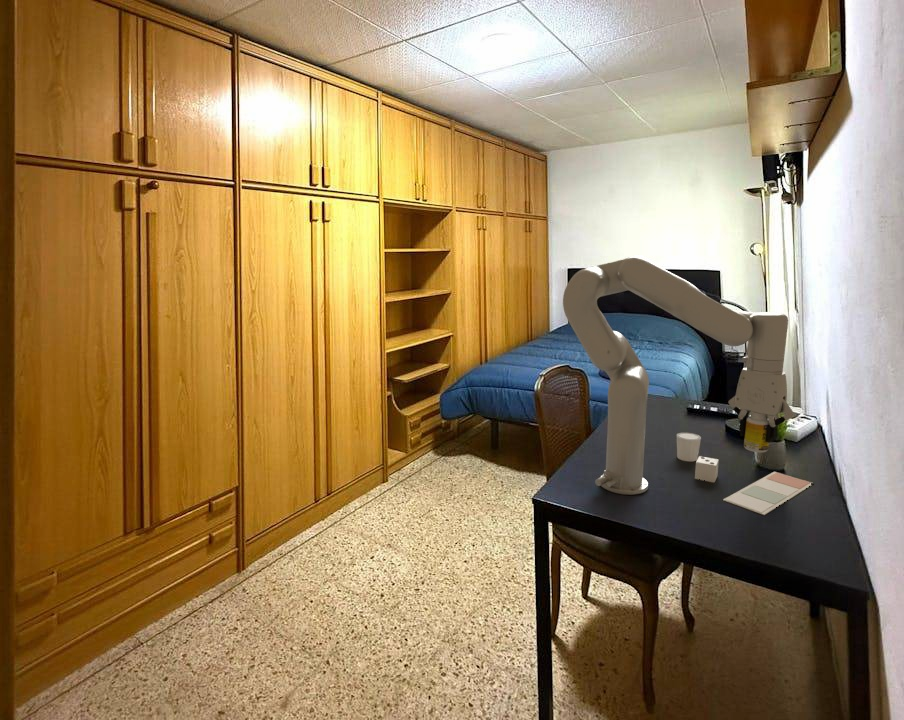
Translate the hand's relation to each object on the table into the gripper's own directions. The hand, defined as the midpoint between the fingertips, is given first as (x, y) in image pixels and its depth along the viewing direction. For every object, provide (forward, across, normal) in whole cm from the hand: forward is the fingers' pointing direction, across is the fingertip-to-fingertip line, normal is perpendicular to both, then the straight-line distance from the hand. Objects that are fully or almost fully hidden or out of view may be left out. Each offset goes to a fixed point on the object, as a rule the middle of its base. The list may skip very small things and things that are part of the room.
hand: (757, 437), depth 133 cm
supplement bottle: (+3, 0, 0) cm, 3 cm away
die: (+17, -15, +6) cm, 24 cm away
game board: (+17, 0, +10) cm, 20 cm away
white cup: (+18, -26, +15) cm, 35 cm away
